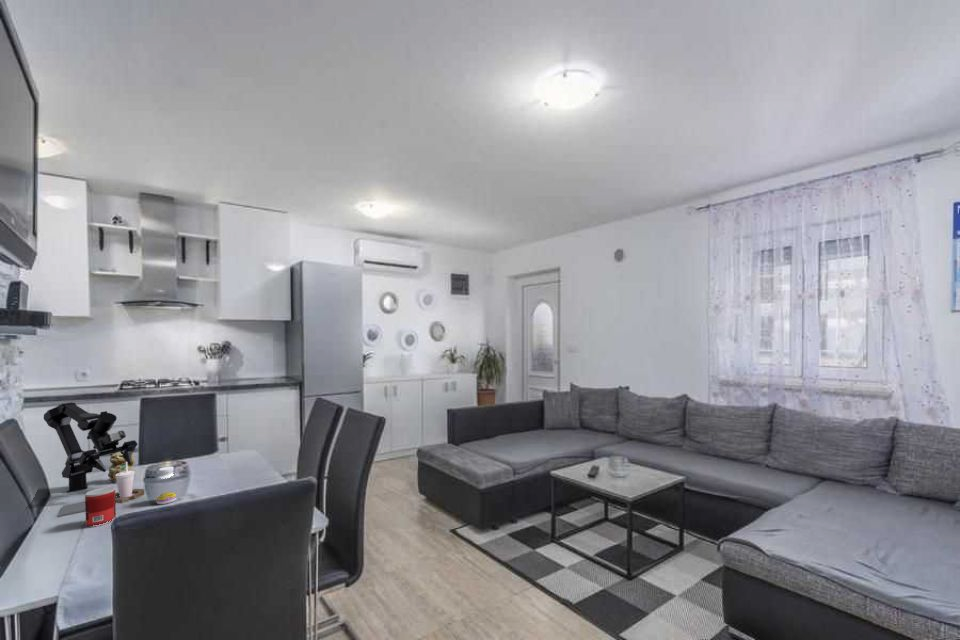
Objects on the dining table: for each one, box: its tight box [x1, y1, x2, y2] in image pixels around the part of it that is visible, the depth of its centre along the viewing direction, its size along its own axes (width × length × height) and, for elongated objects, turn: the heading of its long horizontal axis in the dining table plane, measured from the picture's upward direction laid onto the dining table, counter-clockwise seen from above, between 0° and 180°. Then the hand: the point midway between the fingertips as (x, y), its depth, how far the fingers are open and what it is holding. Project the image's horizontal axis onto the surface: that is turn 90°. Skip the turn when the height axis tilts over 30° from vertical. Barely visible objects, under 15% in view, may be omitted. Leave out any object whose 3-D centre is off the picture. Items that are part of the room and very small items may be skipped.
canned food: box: [84, 486, 117, 527], centre depth 153 cm, size 8×8×11 cm
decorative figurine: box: [107, 452, 136, 482], centre depth 199 cm, size 10×8×15 cm
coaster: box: [57, 500, 86, 517], centre depth 168 cm, size 12×12×1 cm
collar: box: [115, 488, 145, 504], centre depth 177 cm, size 15×12×1 cm
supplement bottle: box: [155, 466, 178, 505], centre depth 170 cm, size 7×7×13 cm
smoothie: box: [115, 462, 136, 498], centre depth 177 cm, size 6×6×14 cm
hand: (118, 467), depth 179 cm, fingers open, 9 cm apart
